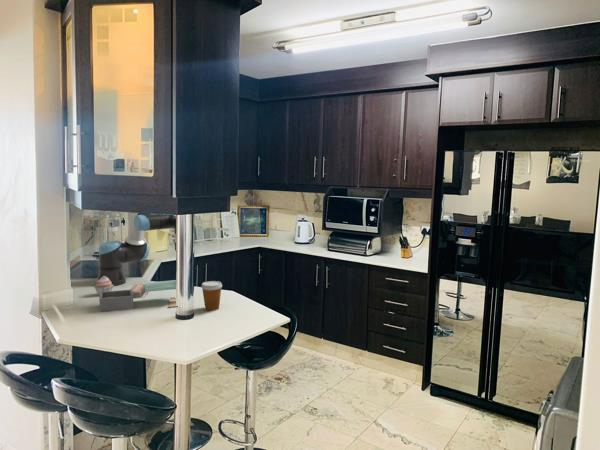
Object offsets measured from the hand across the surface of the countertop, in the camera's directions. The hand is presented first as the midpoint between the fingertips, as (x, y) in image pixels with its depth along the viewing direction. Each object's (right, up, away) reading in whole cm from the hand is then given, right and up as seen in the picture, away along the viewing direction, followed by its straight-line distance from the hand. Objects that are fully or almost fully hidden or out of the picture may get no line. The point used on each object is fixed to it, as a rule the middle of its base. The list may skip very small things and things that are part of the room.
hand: (184, 289), depth 220 cm
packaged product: (-27, -5, +12) cm, 30 cm away
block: (-32, -6, -11) cm, 34 cm away
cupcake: (-44, -5, +11) cm, 45 cm away
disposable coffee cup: (+16, -7, -10) cm, 20 cm away
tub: (-28, -7, -11) cm, 31 cm away
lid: (-7, +2, -3) cm, 8 cm away
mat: (-10, -6, -3) cm, 12 cm away
